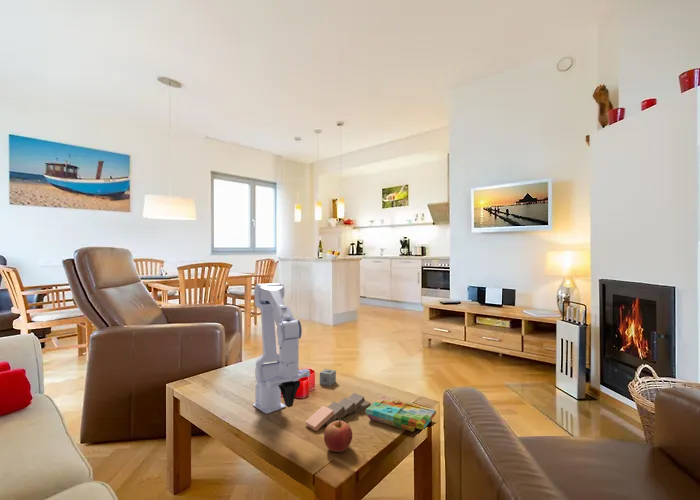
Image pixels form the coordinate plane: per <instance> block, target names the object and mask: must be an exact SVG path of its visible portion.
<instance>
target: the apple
mask: <svg viewBox="0 0 700 500" xmlns="http://www.w3.org/2000/svg"><path fill="white" fill-rule="evenodd" d="M323 440H324V444H325V446H326V448H327V449H328V450H330V451H332V452H336V453H338V452H344V451H346V450H347V449H348V447H350V444H351V443H352V441H353V430H352V428H351V426H350V424H349V423H347V422H345V421H343V420H334V421H333V422H332V423H330V424H329V425H328V426H326V427H325V428H324V432H323Z"/></svg>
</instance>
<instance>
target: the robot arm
mask: <svg viewBox="0 0 700 500" xmlns="http://www.w3.org/2000/svg"><path fill="white" fill-rule="evenodd" d="M253 291H254V292H253V293H254V294H253V295H254V305H255V307H256V308H258V309H259V310H260V315H261V316H260V317H261V318H260V320H261V336H262V337H261V338H262V354H261V355H260V357H258V359H256V361H255V371H254V372H255V375H254V376H255V381H256V385H255V394H254V395H255V402H254V403H253V404H252V405H253V407H255V408H256V409H259V410H260V411H261V412H263V413H265V414H266V415H267V414H270V413H273V412H275V411H279V410H281V409H283V408H286V407H287V408H292V407H293V405H294V401H295V397H296V395H297V393H298V389H299V388H300V386H301V381H299V380H300V379H302V378H309V377H311V370H310V369H308V368H304V369H299V361H300V357H299V356H300V355H299V353H300V352H299V349H300V348H299V343H300V341H299V339H301V338H302V333H303V331H302V324H301V321H300V319H297V317H296V318H294V314H293V313H292V311H291V308H290V307H289V306H288V305H285V303H284V297H285V286H284V284H283V283H282V282H277V283H275V282H272V283H256V284H255V286H254V290H253ZM276 335H277V339H276ZM277 343H278V344H277ZM277 345H278V347H279V350H278V351H279V353H277ZM282 397H283V401H284V403H282Z"/></svg>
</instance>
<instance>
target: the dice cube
mask: <svg viewBox="0 0 700 500" xmlns="http://www.w3.org/2000/svg"><path fill="white" fill-rule="evenodd" d="M336 380H337V370H335V369H334V370H333V369H328V368H325V369H323V370H321V371H320V372H319V385H323V386H327V387H331V386H333V385H334V384H336V382H337V381H336Z"/></svg>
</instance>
